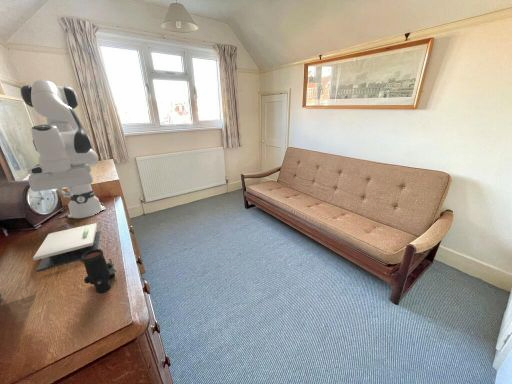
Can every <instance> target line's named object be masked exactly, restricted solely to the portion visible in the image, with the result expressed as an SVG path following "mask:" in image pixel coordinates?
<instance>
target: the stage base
mask: <svg viewBox="0 0 512 384" xmlns="http://www.w3.org/2000/svg"><path fill="white" fill-rule="evenodd" d="M100 234H102V232H101V230H99V231H96V233H95V237H94V242H93V245H92V246H88V247H84V248H80V249H77V250H73V251H69V252H65V253H61V254H57V255H54V256H50V257H46V258H42V259H40V262H39V265H38V266H37V268H36V270H35V272H36V273H39V272H43V271H46V270H51V269H53V268H56V267H60V266H64V265H67V264H71V263H74V262H78V261H82V256H83V255H84V254H85V253H87V252H89V251H91V250H95V249H99V248H100V247H99V246H100V240H101V235H100Z"/></svg>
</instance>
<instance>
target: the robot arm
mask: <svg viewBox="0 0 512 384" xmlns="http://www.w3.org/2000/svg"><path fill="white" fill-rule="evenodd" d="M20 97H21V99H22V101H24V104H26V105H27V106H29V107H30V108H33V110H34V111H35V112H36V113H38V114H39V115H40V116H42V117H44V118H46V124H37V125H33V126H32V127H30V128H31V130H30V131H31V135H32V143H33V146H34V148H35V151H36V152H38V154H39V157H38V164H36V165H33V166H31V167H29V168H28V169H27V173H28V174H29V175H28V178H27V179H28V184H29V187H30V190H31V191H32V192H35V193H37V192H42V191H50V190H57V191H58V192H59V193H60V194H61V195H62V196H63V198H64V199H65V198H68V199H69V200H70V201H69V202H68V203H67V207H68V209H69V214H68V215H67V217H68V218H70V219H71V218H73V219H85V218H89V217H93V216H95V214H96V215H98V214H100V213H101V212H100V211H102V210H104V209H106V210H107V208H106V207H105V205H104V206H102V205H101V203H102V202H100V200H99V198H98V197H97V196H96V195H95V191H94V189H93V188H92V185H91V184H92V183H94V178H93V176H92V173H91V172H92V169H91V167H93V166H96V165H97V164H98V163H99V155H98V153H97V152H96V151H95V150H94V149H92V148H93V142H92V140H91V137H90V136H89V135H88V134H87V132H86V130H85V128H84V126H83V125H82V122H81V121H80V118H79V116H78V115H77V113H76V111H75V110H74V109H75V108H77V107H78V105H79V96H78V94H77V92H76V91H75V90H74V88H73V87H70V86H66V85H64V86H61V85H56V84H55V83H54V82H51V81H49V80H46V79H38V80H35V81H34V82H33V84H32V85H31V84H27V85H23V86H22V87H21V88H20ZM64 188H66V190H67V191H64ZM104 211H105V210H104ZM99 212H100V213H99ZM102 212H103V211H102ZM97 213H98V214H97Z"/></svg>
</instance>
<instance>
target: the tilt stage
mask: <svg viewBox="0 0 512 384" xmlns="http://www.w3.org/2000/svg"><path fill="white" fill-rule="evenodd" d="M97 228H98V223H97V222H94V223H91V224H86V225H82V226H81V225H80V226H77V227H72V228H69V229H63V230H59V231H54V232H51V233H47V236H45V239H44V240H43V242H42V244H41V245H40V247H39V248H38V250H37V251H36V252H35V254H34V256H33V257H32V260H33V261H34V262H35V261H38V260H42V258H46V257H50V256H54V255H57V254H61V253H65V252H69V251H73V250H77V249H80V248H84V247H88V246H92V245H93V242H94V237H95V233H96V232H97Z"/></svg>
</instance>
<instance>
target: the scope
mask: <svg viewBox="0 0 512 384" xmlns="http://www.w3.org/2000/svg"><path fill="white" fill-rule="evenodd" d="M108 260H109V262H107V261H106V258H105V255H104V252H103V249H99V248H98V249H95V250H91V251H89V252H87V253H85V254H84V255H83V256H82V260H81V261H82V262H83V265H84V267H85V268H84V269H85V271H86V276H85V277H84V278H83V281H84V283H85V284H90V285H94V289H95V291H96V293H97V294H104V293H107V291H109V290H110V289H111V288H112V285H111V281H110V280H111V279H113V278H115V277H116V272H117V268H116V266H115V262H113V260H112V257H108Z"/></svg>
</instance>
